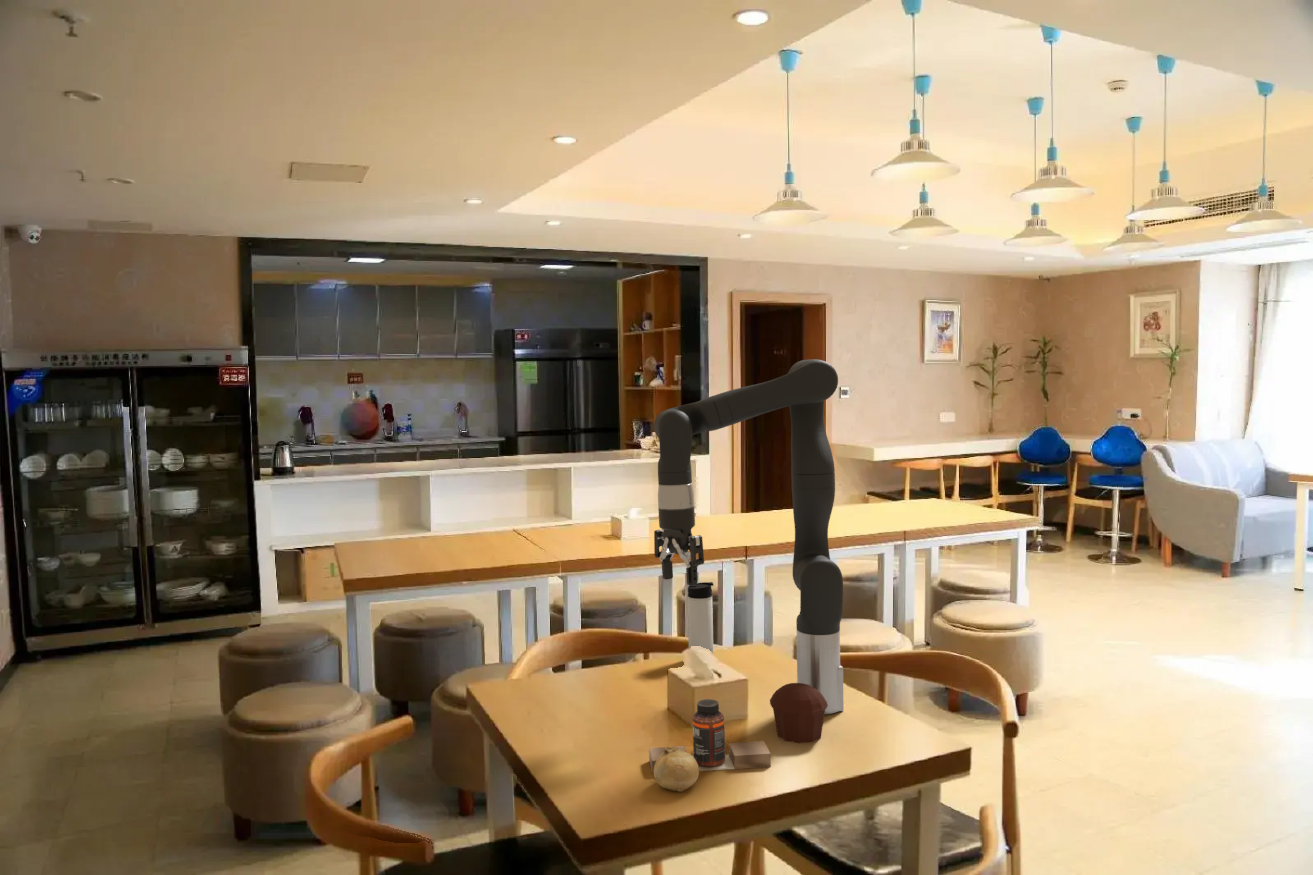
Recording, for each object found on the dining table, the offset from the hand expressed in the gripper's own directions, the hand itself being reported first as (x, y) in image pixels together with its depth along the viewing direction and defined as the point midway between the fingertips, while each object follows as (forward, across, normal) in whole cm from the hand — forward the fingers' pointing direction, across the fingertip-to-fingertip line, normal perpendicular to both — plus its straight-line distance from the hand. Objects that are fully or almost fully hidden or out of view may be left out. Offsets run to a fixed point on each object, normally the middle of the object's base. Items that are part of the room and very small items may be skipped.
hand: (679, 581), depth 197 cm
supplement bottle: (+29, -21, +10) cm, 38 cm away
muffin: (+30, -21, -13) cm, 39 cm away
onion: (+30, -25, +21) cm, 44 cm away
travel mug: (+30, +30, -28) cm, 51 cm away
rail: (+30, -21, +10) cm, 38 cm away
